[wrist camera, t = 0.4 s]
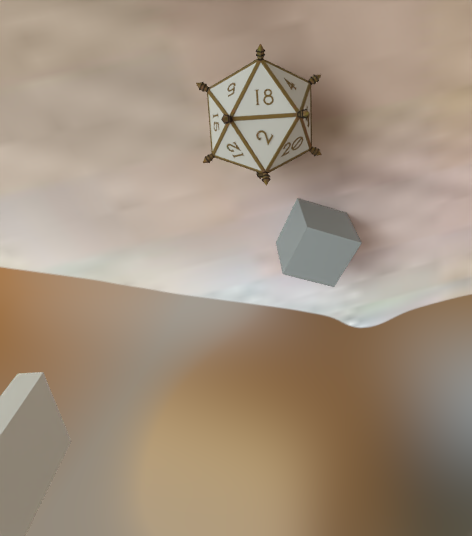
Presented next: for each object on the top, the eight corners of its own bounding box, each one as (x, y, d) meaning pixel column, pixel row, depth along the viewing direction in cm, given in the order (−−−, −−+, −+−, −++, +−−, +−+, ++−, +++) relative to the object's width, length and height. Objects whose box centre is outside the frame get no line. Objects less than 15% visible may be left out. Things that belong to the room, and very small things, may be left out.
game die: (265, 68, 34) (362, 39, 26) (270, 174, 37) (359, 177, 29) (164, 63, 30) (243, 26, 22) (177, 185, 32) (252, 193, 24)
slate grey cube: (297, 197, 38) (307, 227, 34) (346, 212, 39) (361, 242, 35) (275, 242, 40) (282, 274, 36) (322, 254, 42) (333, 287, 38)
